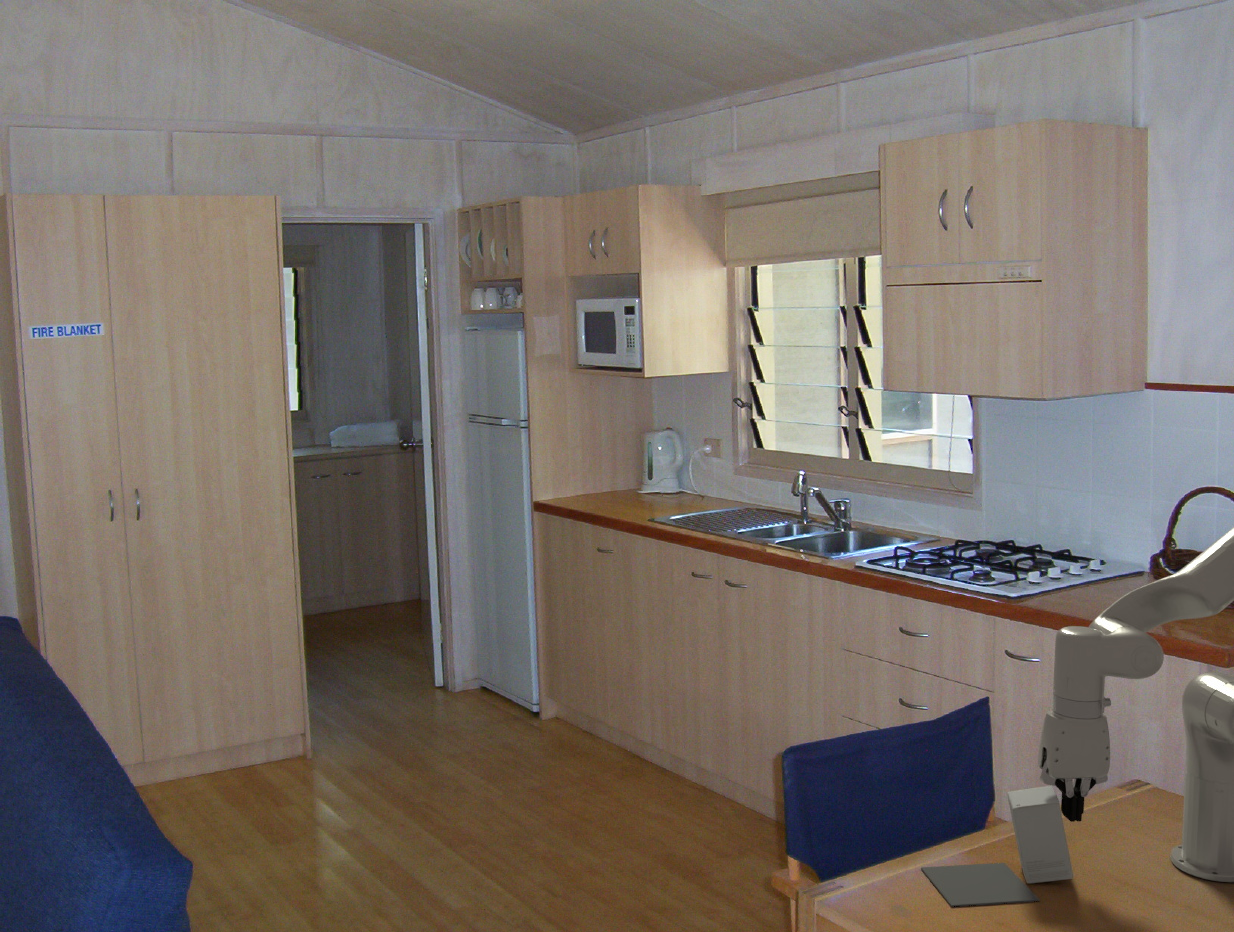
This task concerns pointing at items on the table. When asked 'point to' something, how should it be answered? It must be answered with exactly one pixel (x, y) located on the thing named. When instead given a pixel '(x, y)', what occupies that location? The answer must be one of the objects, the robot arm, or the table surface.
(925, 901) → the table surface
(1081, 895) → the table surface
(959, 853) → the table surface
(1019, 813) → the supplement box
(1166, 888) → the table surface
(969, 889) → the mat
